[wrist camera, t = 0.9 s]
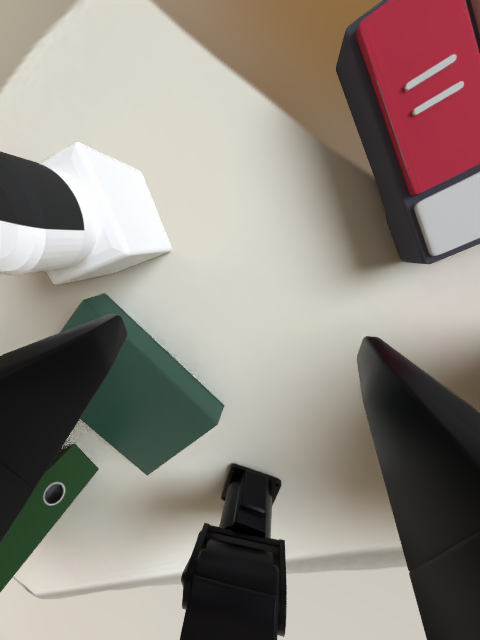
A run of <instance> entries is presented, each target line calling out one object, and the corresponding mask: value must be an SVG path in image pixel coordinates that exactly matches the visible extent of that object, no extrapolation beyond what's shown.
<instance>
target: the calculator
mask: <svg viewBox="0 0 480 640" xmlns="http://www.w3.org/2000/svg"><path fill="white" fill-rule="evenodd" d="M336 71H337V75H338V77H339V80H340V83H341V86H342V88H343V91H344V94H345V97H346V99H347V102H348V105H349V108H350V110H351V113H352V116H353V119H354V122H355V125H356V127H357V130H358V133H359V136H360V138H361V141H362V144H363V147H364V149H365V152H366V155H367V158H368V160H369V163H370V166H371V169H372V172H373V174H374V177H375V180H376V183H377V185H378V188H379V191H380V194H381V196H382V199H383V202H384V205H385V208H386V215H387V222H388V225H389V228H390V231H391V233H392V236H393V239H394V242H395V244H396V247H397V250H398V253H399V255H400V258H401V260H402V261H404V262H410V263H420V264H431V263H434V262H437V261H439V260H441V259H444V258H446V257H449V256H451V255H454V254H456V253H458V252H461V251H463V250H466V249H468V248H470V247H473V246H475V245H478V244H480V0H383V1H381V2H380V3H379V4H377V5H376V6H375V7H373V8H372V9H371V10H369V11H368V12H367V13H365V14H364V15H363V16H361V17H360V18H358V19H357V20H356V21H354V22H353V23H352V24H351V25H350V26H349V27H348V28H347V29H346V32H345V35H344V38H343V42H342V46H341V50H340V54H339V58H338V62H337V66H336Z"/></svg>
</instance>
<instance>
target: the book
mask: <svg viewBox="0 0 480 640" xmlns="http://www.w3.org/2000/svg"><path fill="white" fill-rule="evenodd" d="M108 314H118V315H121V316H122V318H123V320H124V323H125V326H126V329H127V333H128V334H127V338H126V340H125V342H124V344H123V346H122V348H121V350H120V352H119V354H118V356H117V358H116V360H115V362H114V364H113V366H112V368H111V370H110V371H109V373H108V375H107V376H106V378H105V379H104V381H103V383H102V384H101V386H100V387H99V389H98V390H97V392H96V394H95V395H94V397H93V398H92V400H91V401H90V403H89V405H88V406H87V408H86V409H85V411H84V412H83V414H82V416H81V417H80V419H81V420H82V421H83V422H85V423H86V424H87V425H88V426H89V427H90V428H92V429H93V430H94V431H95V432H96V433H98V434H99V435H100V436H101V437H102V438H103V439H105V440H106V441H107V442H108V443H109V444H111V445H112V446H113V447H114V448H115V449H116V450H118V451H119V452H120V453H121V454H122V455H124V456H125V457H126V458H127V459H128V460H129V461H131V462H132V463H133V464H134V465H135V466H137V467H138V468H139V469H140V470H141V471H142V472H144V473H145V474H146V475H149V474H150V473H151V472H153V471H154V470H155V469H157V468H158V467H160V466H161V465H162V464H164V463H165V462H167V461H168V460H169V459H171V458H172V457H173V456H175V455H176V454H178V453H179V452H180V451H182V450H183V449H184V448H186V447H187V446H189V445H190V444H191V443H193V442H194V441H196V440H197V439H198V438H200V437H201V436H202V435H204V434H205V433H207V432H208V431H209V430H211V429H212V428H213V427H215V426H216V425H218V422H219V419H220V416H221V413H222V410H223V408H224V405H223V404H222V403H221V402H220V401H219V400H218V399H217V398H216V397H215V396H214V395H212V394H211V393H210V392H209V391H208V390H207V389H206V388H205V387H204V386H203V385H202V384H201V383H200V382H199V381H198V380H197V379H195V378H194V377H193V376H192V375H191V374H190V373H189V372H188V371H187V370H186V369H185V368H184V367H183V366H182V365H181V364H180V363H178V362H177V361H176V360H175V359H174V358H173V357H172V356H171V355H170V354H169V353H168V352H167V351H166V350H165V349H164V348H163V347H161V346H160V345H159V344H158V343H157V342H156V341H155V340H154V339H153V338H152V337H151V336H150V335H149V334H148V333H147V332H146V331H144V330H143V329H142V328H141V327H140V326H139V325H138V324H137V323H136V322H135V321H134V320H133V319H132V318H131V317H130V316H128V315H127V314H126V313H125V312H124V311H123V310H122V309H121V308H120V307H119V306H118V305H117V304H116V303H115V302H114V301H113V300H111V299H110V298H109V297H108V296H107V295H106V294H105V293H104V294H102V295H98V296H95V297H92V298H89V299H86V300H83V301H82V302H81V304H80V305H79V307H78V308H77V309H76V311H75V312H74V314H73V315H72V316H71V318H70V319H69V321H68V322H67V323H66V325H65V326H64V328H63V329H62V330H61V332H64V331H66V330H69V329H72V328H74V327H77V326H79V325H82V324H85V323H87V322H90V321H93V320H95V319H98V318H100V317H103V316H106V315H108ZM61 332H60V333H61Z"/></svg>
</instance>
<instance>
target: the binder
mask: <svg viewBox="0 0 480 640" xmlns="http://www.w3.org/2000/svg"><path fill="white" fill-rule="evenodd" d="M97 471H98V468H97V467H96V466H95V465H94V464H93V463H92V462H91V461H90V459H89V458H88V457H87V456H86V455H85V454H84V453H83V452H82V451H81V450H80V449H79V448H78V447H77V446H76V445H75V444H74V445H72V446H70V447H69V448H67V449H65V450H64V451H62V452H60V453H59V454H57V455H56V456H55V458H54V460H53V461H52V463H51V464H50V466H49V467H48V469H47V471H46V472H45V474H44V475H43V477H42V478H41V480H40V482H39V483H38V485H37V486H36V488H35V489H34V491H33V493H32V495H31V496H30V498H29V499H28V501H27V502H26V504H25V506H24V507H23V509H22V510H21V512H20V513H19V515H18V517H17V518H16V520H15V521H14V523H13V524H12V526H11V528H10V529H9V531H8V532H7V534H6V536H5V537H4V539H3V540H2V542H1V543H0V592H1V591H2V590H3V588H4V587H5V586H6V585H7V583H8V582H9V581H10V580H11V578H12V577H13V576H14V575H15V573H16V572H17V571H18V570H19V568H20V567H21V566H22V565H23V563H24V562H25V561H26V560H27V558H28V557H29V556H30V554H31V553H32V552H33V551H34V549H35V548H36V547H37V546H38V544H39V543H40V542H41V541H42V539H43V538H44V537H45V536H46V534H47V533H48V532H49V531H50V529H51V528H52V527H53V526H54V524H55V523H56V522H57V521H58V519H59V518H60V517H61V516H62V514H63V513H64V512H65V511H66V509H67V508H68V507H69V506H70V504H71V503H72V502H73V501H74V499H75V498H76V497H77V496H78V494H79V493H80V492H81V491H82V489H83V488H84V487H85V486H86V484H87V483H88V482H89V481H90V479H91V478H92V477H93V476H94V474H95V473H96V472H97Z"/></svg>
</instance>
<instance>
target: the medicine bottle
mask: <svg viewBox="0 0 480 640" xmlns="http://www.w3.org/2000/svg"><path fill="white" fill-rule="evenodd" d="M171 249H172V247H171V244H170V242H169V239H168V237H167V234H166V232H165V229H164V227H163V224H162V222H161V219H160V217H159V214H158V212H157V209H156V207H155V204H154V202H153V199H152V197H151V195H150V192H149V190H148V187H147V185H146V182H145V180H144V177H143V175H142V173H141V172H140V171H139V170H137V169H135V168H133V167H131V166H128V165H126V164H124V163H122V162H120V161H118V160H116V159H114V158H111V157H109V156H107V155H105V154H103V153H101V152H99V151H96V150H94V149H92V148H90V147H88V146H86V145H84V144H81V143H79V142H75V143H73V144H71V145H69V146H68V147H66V148H64V149H63V150H61V151H59V152H58V153H56V154H54V155H53V156H51V157H49V158H48V159H46V160H44V161H43V162H41V163H36V162H33V161H30V160H26V159H23V158H20V157H16V156H13V155H10V154H7V153H3V152H0V273H1V274H6V275H19V274H26V273H33V272H40V271H46V273H47V274H48V276H49V278H50V280H51V282H52V283H53V284H55V285H60V284H65V283H69V282H74V281H79V280H84V279H89V278H93V277H98V276H103V275H108V274H112V273H116V272H119V271H121V270H124V269H126V268H129V267H132V266H134V265H137V264H139V263H142V262H144V261H147V260H149V259H152V258H155V257H157V256H160V255H162V254H165V253H167V252H170V251H171Z"/></svg>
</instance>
